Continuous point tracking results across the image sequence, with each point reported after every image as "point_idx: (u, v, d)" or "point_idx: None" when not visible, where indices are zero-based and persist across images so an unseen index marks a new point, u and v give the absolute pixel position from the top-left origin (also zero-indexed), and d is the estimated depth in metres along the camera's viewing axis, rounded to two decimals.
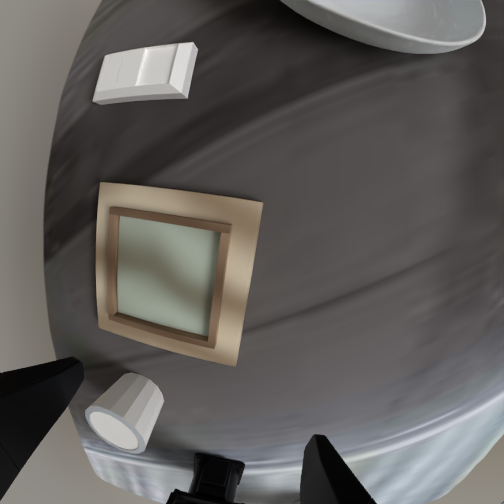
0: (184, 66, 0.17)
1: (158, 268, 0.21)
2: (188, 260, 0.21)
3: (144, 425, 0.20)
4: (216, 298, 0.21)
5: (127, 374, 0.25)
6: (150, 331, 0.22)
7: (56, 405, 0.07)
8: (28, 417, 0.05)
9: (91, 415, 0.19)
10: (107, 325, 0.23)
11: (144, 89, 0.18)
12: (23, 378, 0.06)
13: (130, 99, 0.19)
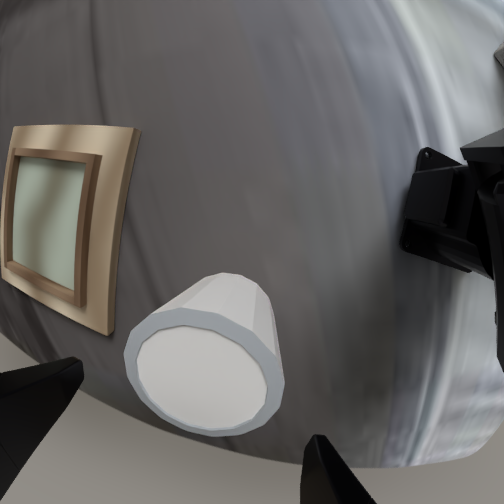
0: None
1: (37, 222, 0.16)
2: (32, 187, 0.15)
3: (183, 299, 0.11)
4: (49, 153, 0.14)
5: None
6: (80, 245, 0.15)
7: (56, 405, 0.07)
8: (28, 417, 0.05)
9: (168, 412, 0.11)
10: (100, 319, 0.17)
11: None
12: (23, 378, 0.06)
13: None
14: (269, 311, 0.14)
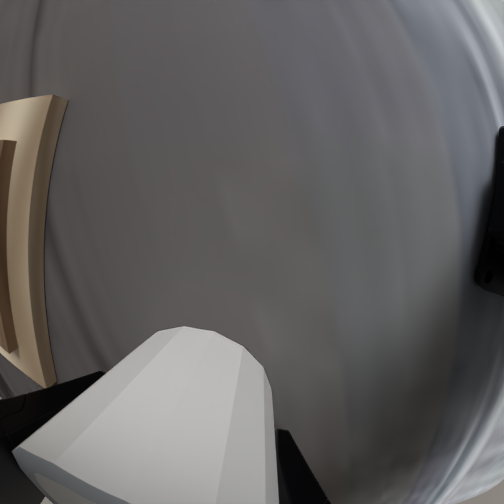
0: None
1: None
2: None
3: (77, 422, 0.04)
4: None
5: None
6: None
7: None
8: None
9: None
10: (35, 369, 0.10)
11: None
12: (50, 398, 0.06)
13: None
14: (262, 410, 0.07)
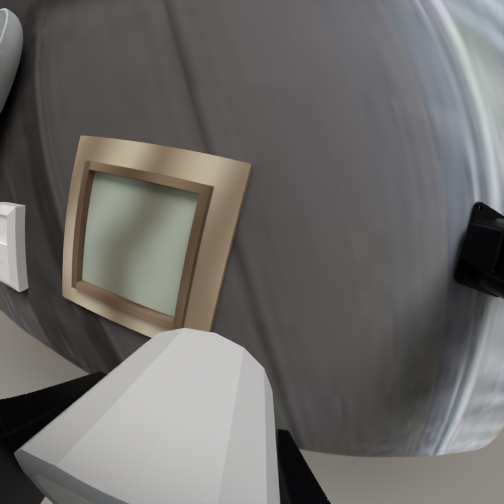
0: (3, 207, 0.19)
1: (122, 245, 0.18)
2: (115, 207, 0.18)
3: (79, 424, 0.04)
4: (144, 176, 0.16)
5: None
6: (188, 274, 0.17)
7: None
8: None
9: None
10: None
11: (10, 238, 0.19)
12: (50, 398, 0.06)
13: (21, 256, 0.21)
14: (263, 412, 0.07)
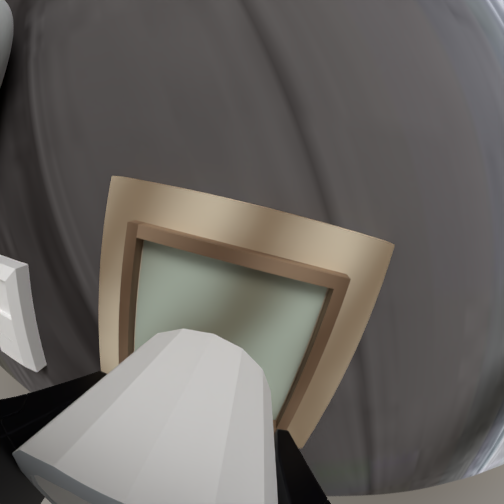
0: None
1: None
2: (186, 296, 0.13)
3: (77, 425, 0.04)
4: (244, 259, 0.11)
5: None
6: (306, 384, 0.12)
7: None
8: None
9: None
10: (298, 437, 0.14)
11: (15, 311, 0.14)
12: (50, 399, 0.06)
13: (32, 329, 0.16)
14: (261, 413, 0.07)
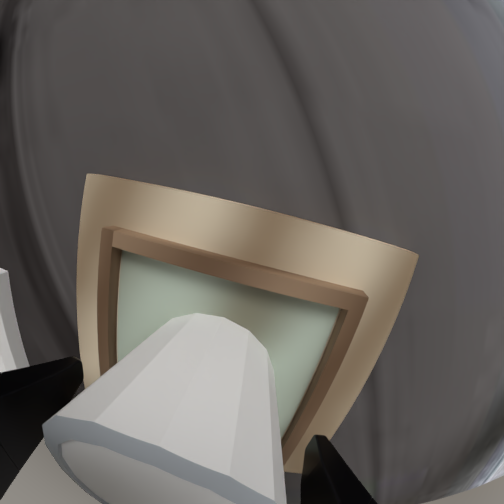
0: None
1: None
2: (172, 316, 0.11)
3: (111, 389, 0.05)
4: (239, 274, 0.09)
5: None
6: (312, 414, 0.10)
7: (56, 405, 0.07)
8: (28, 417, 0.05)
9: None
10: (301, 463, 0.12)
11: None
12: (23, 378, 0.06)
13: (15, 341, 0.13)
14: (266, 384, 0.08)
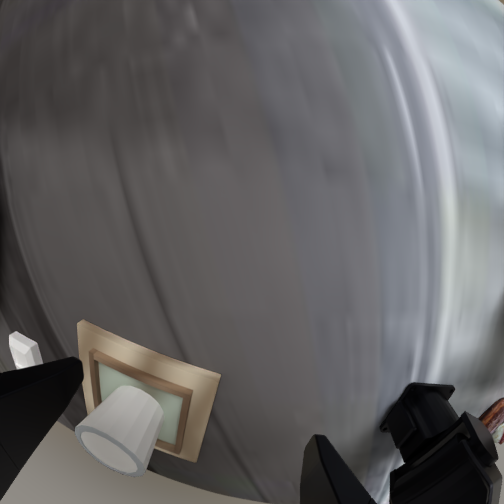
0: (19, 343, 0.23)
1: None
2: (121, 385, 0.22)
3: (96, 417, 0.16)
4: (140, 379, 0.20)
5: None
6: (182, 432, 0.21)
7: (56, 405, 0.07)
8: (28, 417, 0.05)
9: (99, 460, 0.16)
10: (191, 456, 0.23)
11: None
12: (23, 378, 0.06)
13: None
14: (150, 419, 0.19)
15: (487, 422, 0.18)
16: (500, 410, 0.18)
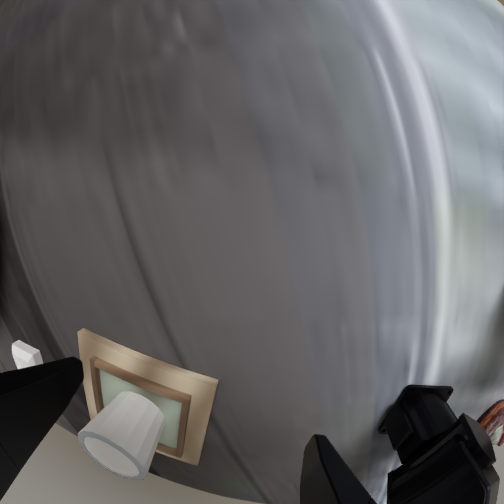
0: (21, 351, 0.23)
1: None
2: (122, 391, 0.22)
3: (98, 423, 0.16)
4: (140, 385, 0.21)
5: None
6: (182, 436, 0.22)
7: (56, 405, 0.07)
8: (28, 417, 0.05)
9: (102, 464, 0.16)
10: (193, 460, 0.23)
11: None
12: (23, 378, 0.06)
13: None
14: (150, 424, 0.19)
15: (485, 425, 0.19)
16: (498, 412, 0.18)
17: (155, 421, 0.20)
